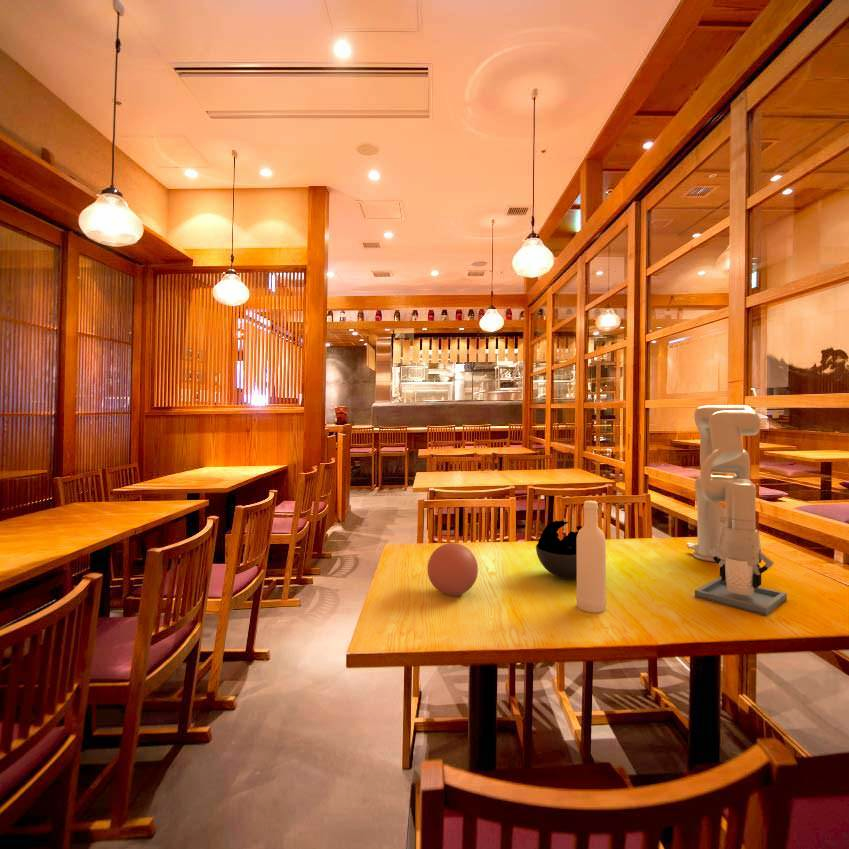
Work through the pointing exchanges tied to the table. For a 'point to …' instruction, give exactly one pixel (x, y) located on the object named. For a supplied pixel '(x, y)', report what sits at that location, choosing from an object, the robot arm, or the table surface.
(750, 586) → the white cup
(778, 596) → the serving tray
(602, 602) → the bottle
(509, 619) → the table surface
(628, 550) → the table surface
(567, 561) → the bowl of black rocks
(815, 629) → the table surface
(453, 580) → the brown rubber ball
